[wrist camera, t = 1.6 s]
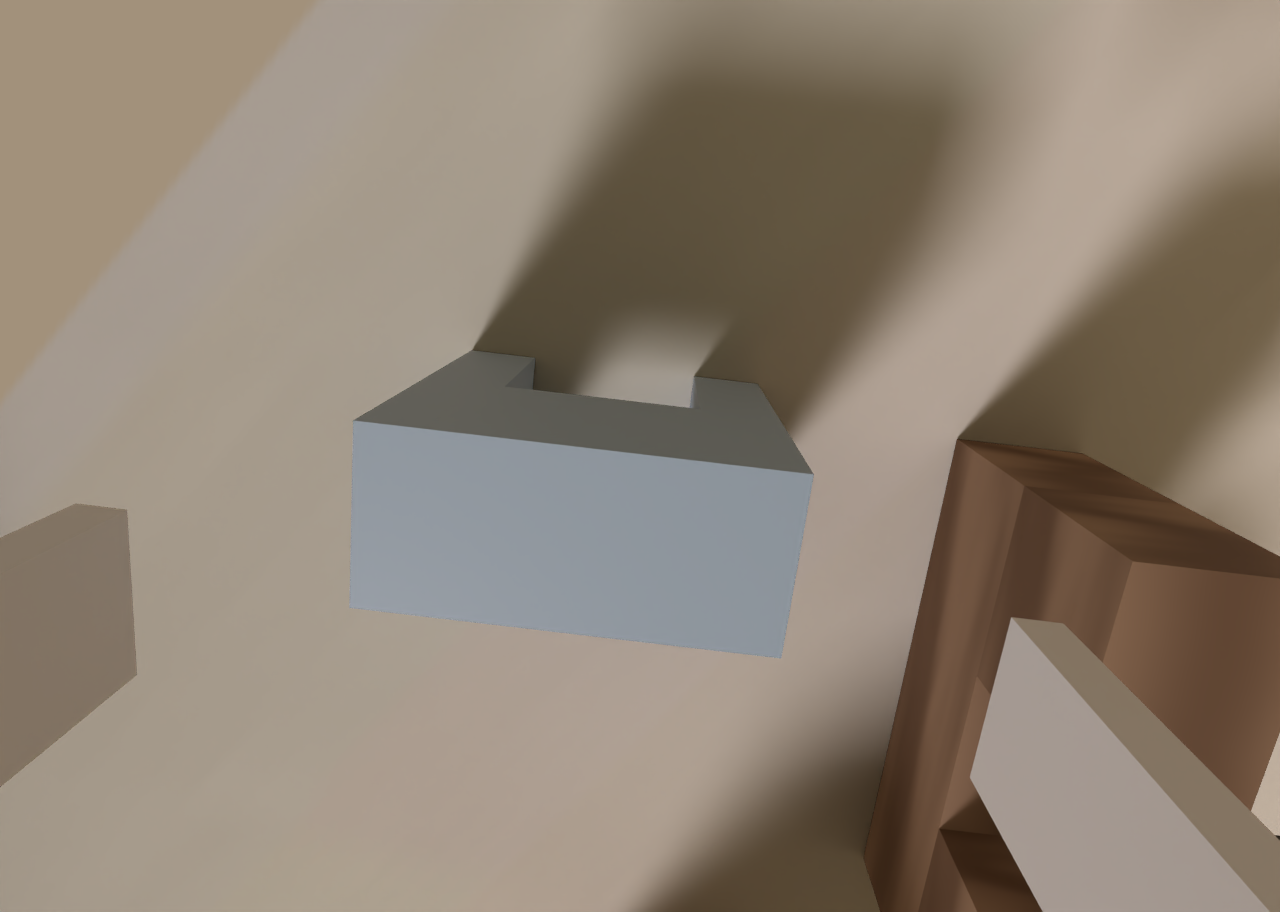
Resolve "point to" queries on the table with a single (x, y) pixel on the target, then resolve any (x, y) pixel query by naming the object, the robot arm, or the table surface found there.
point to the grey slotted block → (579, 509)
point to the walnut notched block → (1099, 617)
